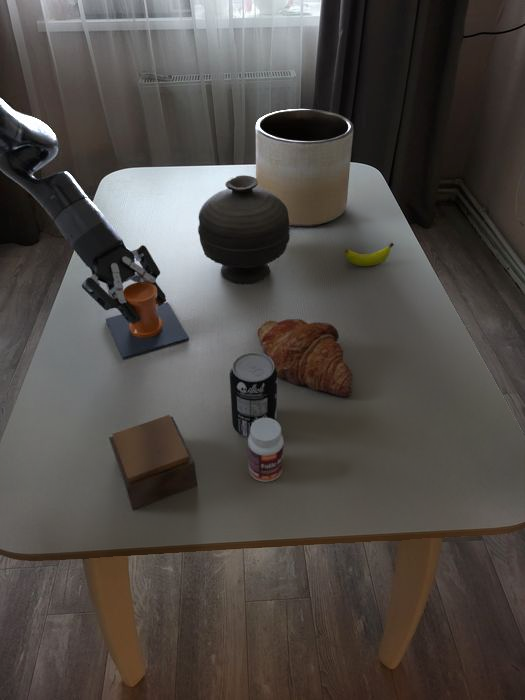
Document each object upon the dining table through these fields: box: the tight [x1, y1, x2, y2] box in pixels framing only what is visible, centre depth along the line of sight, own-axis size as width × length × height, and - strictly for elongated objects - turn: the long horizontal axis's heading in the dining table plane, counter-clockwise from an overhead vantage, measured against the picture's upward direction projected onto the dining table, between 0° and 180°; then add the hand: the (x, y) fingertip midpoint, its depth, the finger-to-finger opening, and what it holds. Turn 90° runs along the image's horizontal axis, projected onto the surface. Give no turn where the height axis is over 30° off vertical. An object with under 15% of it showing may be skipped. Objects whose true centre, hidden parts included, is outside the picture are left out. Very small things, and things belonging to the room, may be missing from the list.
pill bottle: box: [247, 418, 285, 483], centre depth 74 cm, size 5×5×8 cm
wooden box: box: [108, 414, 198, 511], centre depth 75 cm, size 9×9×6 cm
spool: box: [123, 282, 163, 338], centre depth 98 cm, size 6×6×8 cm
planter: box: [255, 108, 354, 227], centre depth 130 cm, size 22×22×20 cm
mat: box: [105, 301, 190, 360], centre depth 100 cm, size 12×12×1 cm
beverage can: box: [229, 351, 278, 439], centre depth 79 cm, size 7×7×12 cm
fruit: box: [344, 242, 395, 267], centre depth 115 cm, size 10×2×5 cm, turn 97°
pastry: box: [256, 318, 353, 398], centre depth 91 cm, size 17×15×8 cm
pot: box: [197, 174, 291, 286], centre depth 109 cm, size 18×18×20 cm
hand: (150, 312), depth 97 cm, fingers closed on spool, 6 cm apart
